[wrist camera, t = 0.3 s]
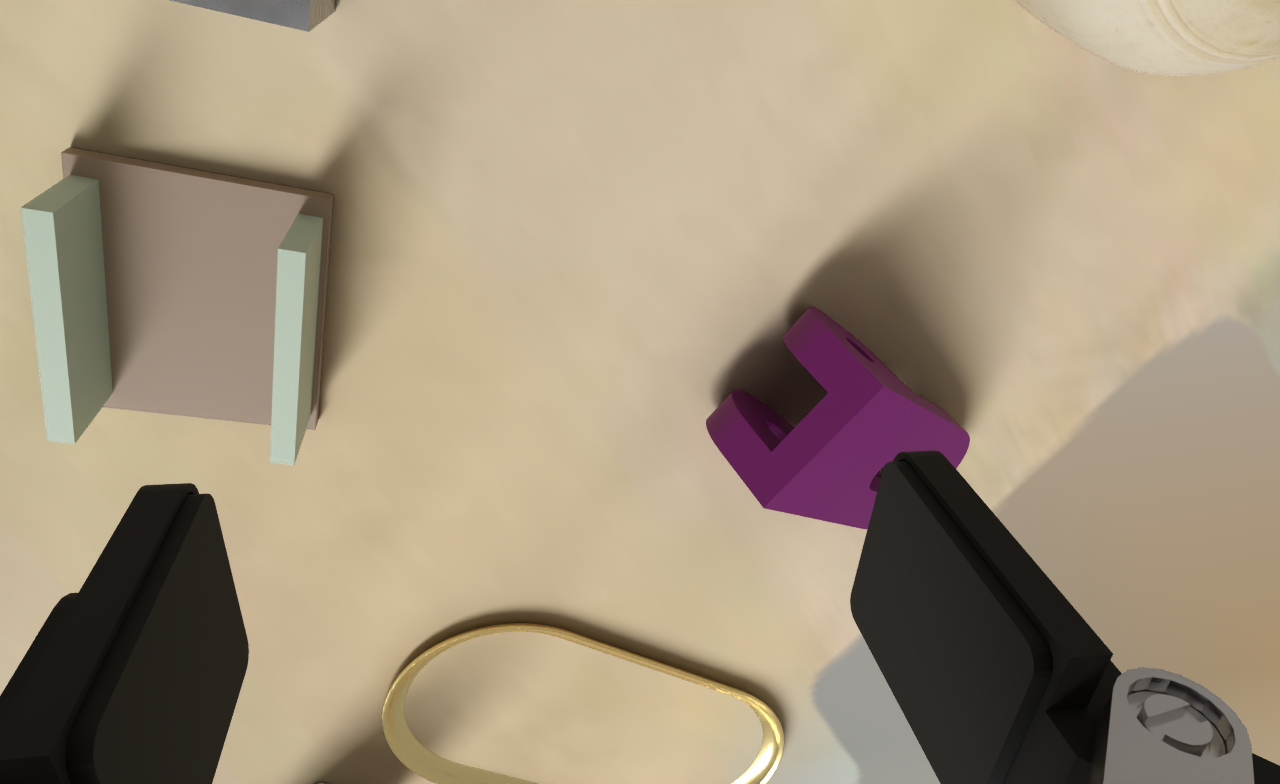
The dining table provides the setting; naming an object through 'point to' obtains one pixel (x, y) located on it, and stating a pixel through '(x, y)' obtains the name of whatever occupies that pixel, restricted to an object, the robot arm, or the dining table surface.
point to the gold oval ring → (464, 780)
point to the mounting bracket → (831, 430)
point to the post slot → (177, 296)
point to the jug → (1168, 32)
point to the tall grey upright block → (273, 10)
